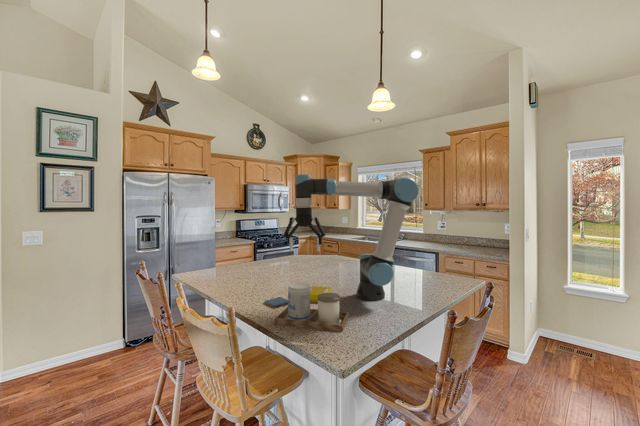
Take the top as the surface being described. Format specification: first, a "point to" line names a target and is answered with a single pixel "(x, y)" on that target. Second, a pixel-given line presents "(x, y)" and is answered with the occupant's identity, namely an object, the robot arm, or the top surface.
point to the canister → (328, 308)
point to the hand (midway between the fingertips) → (304, 251)
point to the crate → (310, 322)
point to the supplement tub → (299, 301)
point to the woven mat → (276, 302)
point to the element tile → (318, 292)
